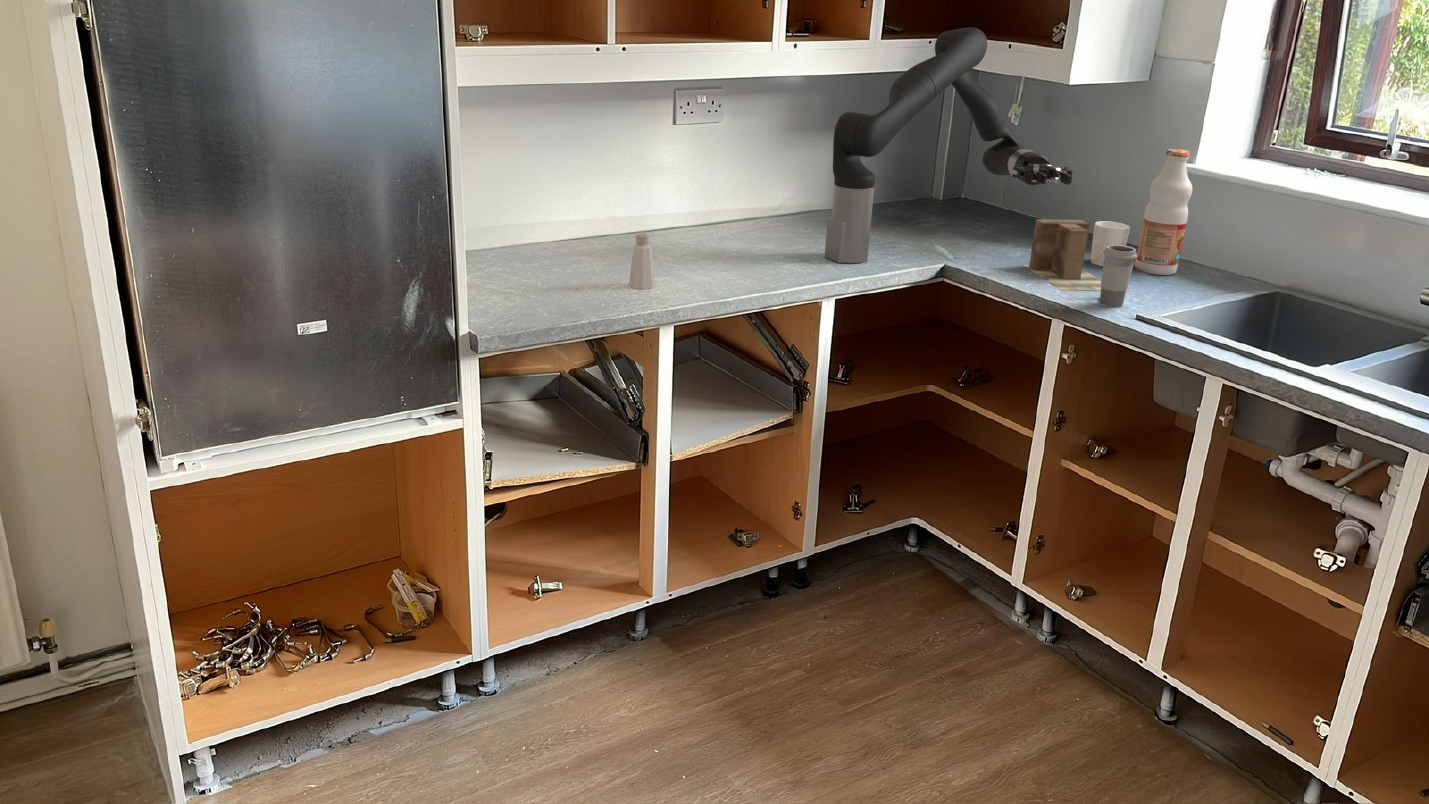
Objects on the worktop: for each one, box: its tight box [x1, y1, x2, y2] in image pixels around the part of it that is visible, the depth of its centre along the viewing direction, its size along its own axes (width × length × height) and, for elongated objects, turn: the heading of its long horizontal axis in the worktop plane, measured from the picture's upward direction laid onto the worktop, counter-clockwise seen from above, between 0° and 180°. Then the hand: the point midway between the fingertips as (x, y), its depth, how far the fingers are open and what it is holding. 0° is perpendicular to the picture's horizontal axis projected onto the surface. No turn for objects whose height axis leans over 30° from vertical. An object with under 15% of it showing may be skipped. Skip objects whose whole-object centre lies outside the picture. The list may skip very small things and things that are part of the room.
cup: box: [1099, 245, 1137, 308], centre depth 229 cm, size 7×7×12 cm
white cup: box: [1090, 220, 1131, 267], centre depth 259 cm, size 8×8×10 cm
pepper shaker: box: [628, 232, 656, 290], centre depth 227 cm, size 5×5×11 cm
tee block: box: [1028, 218, 1090, 279], centre depth 248 cm, size 11×11×11 cm
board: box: [1023, 264, 1101, 292], centre depth 247 cm, size 21×13×1 cm, turn 8°
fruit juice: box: [1134, 148, 1193, 276], centre depth 254 cm, size 9×9×28 cm
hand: (1057, 179), depth 252 cm, fingers open, 5 cm apart
